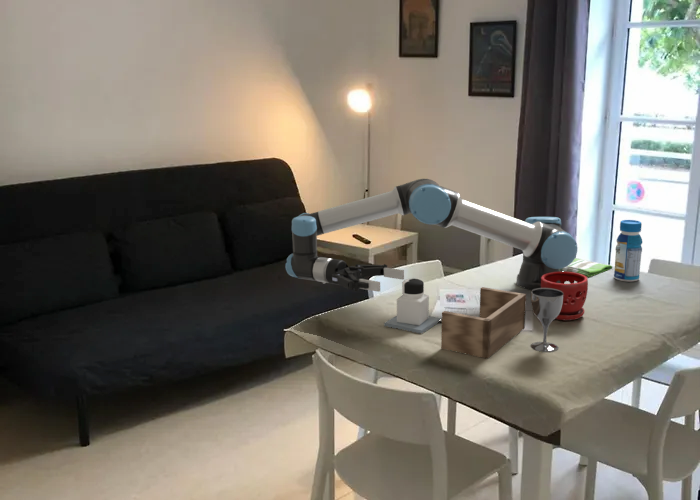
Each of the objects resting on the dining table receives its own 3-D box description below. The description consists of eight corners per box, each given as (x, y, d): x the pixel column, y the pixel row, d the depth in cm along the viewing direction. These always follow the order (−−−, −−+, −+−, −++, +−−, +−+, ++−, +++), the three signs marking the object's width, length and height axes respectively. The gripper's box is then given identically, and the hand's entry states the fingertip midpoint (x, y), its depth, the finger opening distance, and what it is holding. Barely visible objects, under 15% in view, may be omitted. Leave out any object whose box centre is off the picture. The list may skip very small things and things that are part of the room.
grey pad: (384, 326, 211) (384, 322, 211) (404, 314, 221) (404, 311, 221) (421, 333, 205) (421, 330, 204) (441, 321, 214) (441, 318, 214)
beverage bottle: (636, 283, 248) (641, 225, 243) (610, 280, 252) (615, 222, 247) (641, 277, 255) (646, 220, 250) (616, 274, 259) (620, 218, 254)
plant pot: (553, 305, 227) (556, 268, 224) (593, 315, 218) (596, 276, 215) (530, 316, 218) (532, 277, 215) (571, 326, 209) (573, 286, 206)
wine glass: (524, 342, 198) (527, 288, 194) (553, 340, 198) (556, 287, 195) (534, 353, 190) (537, 297, 186) (564, 351, 191) (568, 296, 187)
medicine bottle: (428, 318, 214) (429, 278, 211) (419, 326, 208) (420, 285, 205) (405, 314, 217) (406, 275, 214) (396, 322, 211) (396, 282, 208)
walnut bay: (441, 348, 194) (441, 312, 191) (481, 320, 215) (482, 287, 212) (487, 358, 187) (488, 321, 185) (524, 328, 208) (526, 294, 206)
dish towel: (557, 258, 283) (557, 249, 282) (613, 269, 267) (613, 260, 266) (531, 266, 272) (531, 257, 271) (588, 279, 255) (589, 269, 254)
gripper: (354, 273, 236) (412, 282, 224) (307, 293, 216) (369, 305, 204) (353, 250, 234) (412, 258, 223) (306, 269, 214) (368, 279, 202)
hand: (391, 280), depth 213 cm, fingers open, 13 cm apart
